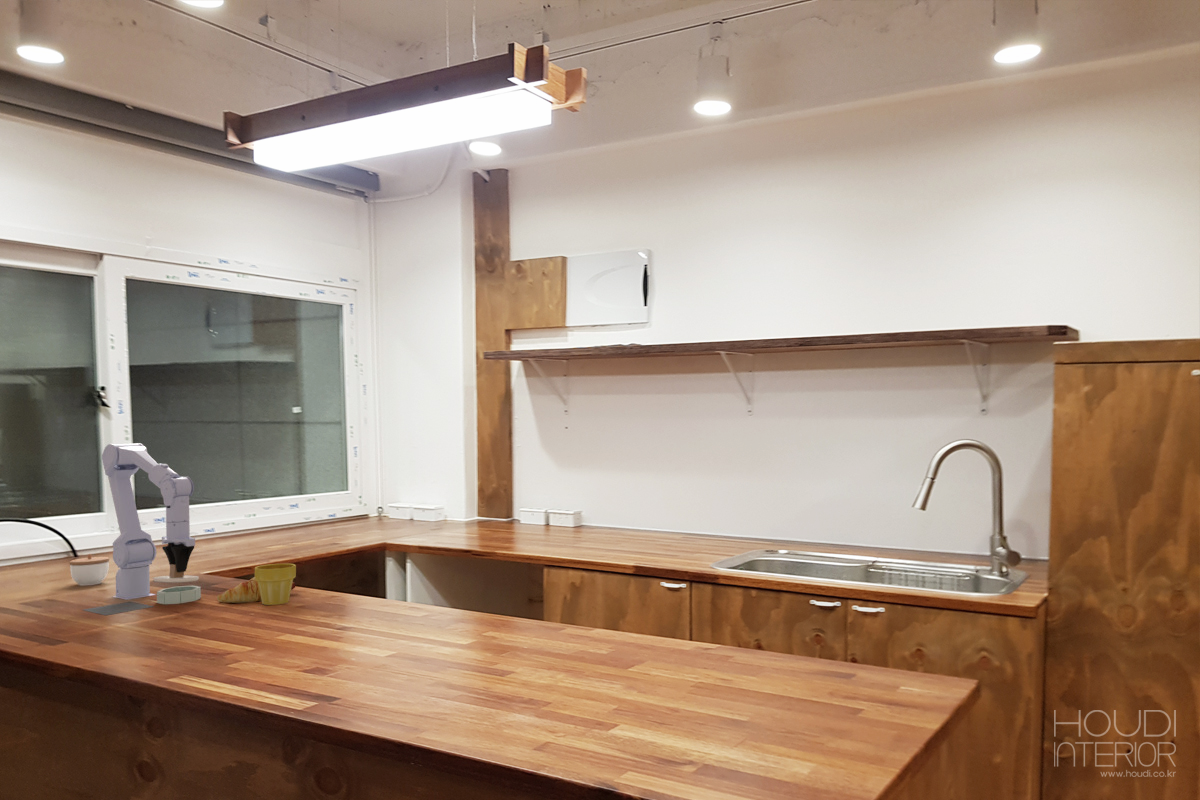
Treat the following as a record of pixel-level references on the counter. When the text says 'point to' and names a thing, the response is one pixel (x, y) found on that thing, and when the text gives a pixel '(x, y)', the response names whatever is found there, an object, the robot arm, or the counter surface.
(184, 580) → the lid
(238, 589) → the croissant
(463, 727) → the counter surface
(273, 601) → the plant pot
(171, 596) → the bowl
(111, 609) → the mat
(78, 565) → the lidded jar
